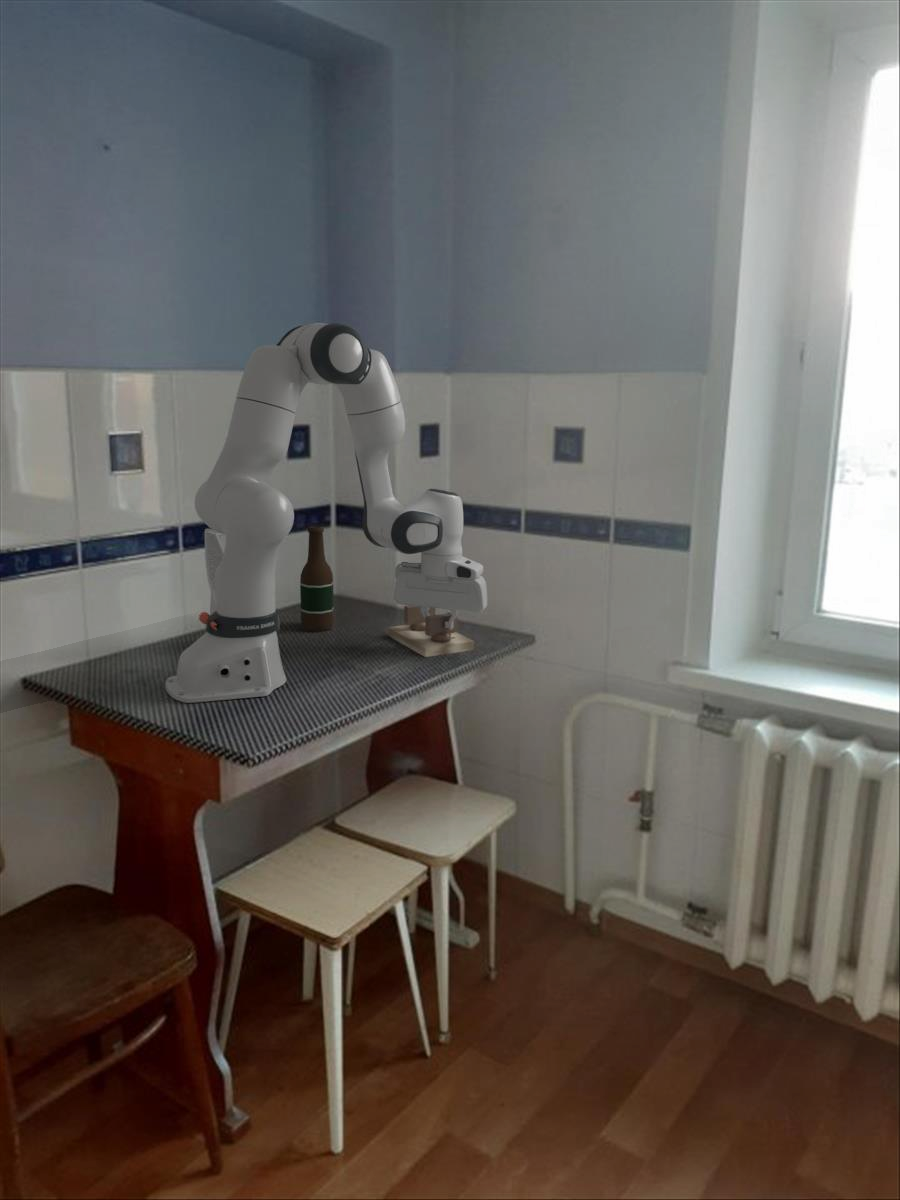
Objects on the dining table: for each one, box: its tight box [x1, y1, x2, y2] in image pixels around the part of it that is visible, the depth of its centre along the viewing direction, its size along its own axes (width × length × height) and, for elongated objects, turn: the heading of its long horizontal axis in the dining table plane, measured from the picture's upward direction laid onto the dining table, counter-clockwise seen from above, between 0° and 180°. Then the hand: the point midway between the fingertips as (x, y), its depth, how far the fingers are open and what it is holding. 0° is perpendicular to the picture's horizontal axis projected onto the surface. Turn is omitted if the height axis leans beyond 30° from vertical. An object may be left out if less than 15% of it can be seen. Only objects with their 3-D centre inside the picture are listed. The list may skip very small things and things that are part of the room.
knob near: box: [425, 610, 458, 642], centre depth 202 cm, size 7×4×6 cm, turn 124°
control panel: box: [387, 624, 475, 658], centre depth 207 cm, size 12×18×4 cm
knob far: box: [403, 605, 436, 631], centre depth 210 cm, size 7×4×6 cm, turn 119°
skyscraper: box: [204, 528, 226, 616], centre depth 199 cm, size 8×8×28 cm
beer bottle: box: [299, 525, 335, 633], centre depth 214 cm, size 8×8×24 cm
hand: (439, 627), depth 202 cm, fingers closed on knob near, 3 cm apart
